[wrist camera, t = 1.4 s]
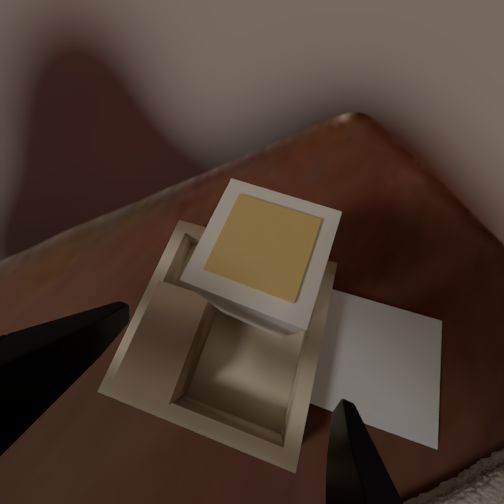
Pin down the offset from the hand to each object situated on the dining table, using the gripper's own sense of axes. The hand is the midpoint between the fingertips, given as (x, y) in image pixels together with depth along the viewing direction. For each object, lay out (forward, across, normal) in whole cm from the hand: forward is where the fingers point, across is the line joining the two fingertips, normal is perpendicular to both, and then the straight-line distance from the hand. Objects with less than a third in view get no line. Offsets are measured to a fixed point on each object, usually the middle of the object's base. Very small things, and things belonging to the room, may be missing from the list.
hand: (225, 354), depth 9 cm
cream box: (+11, 0, +5) cm, 12 cm away
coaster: (+10, -10, +6) cm, 15 cm away
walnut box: (+7, +5, +8) cm, 12 cm away
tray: (+9, +2, +7) cm, 12 cm away
